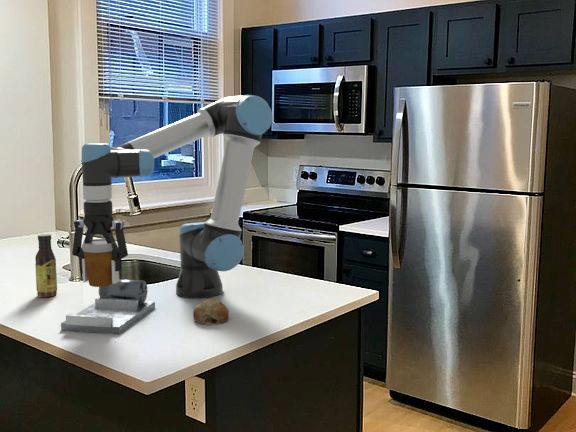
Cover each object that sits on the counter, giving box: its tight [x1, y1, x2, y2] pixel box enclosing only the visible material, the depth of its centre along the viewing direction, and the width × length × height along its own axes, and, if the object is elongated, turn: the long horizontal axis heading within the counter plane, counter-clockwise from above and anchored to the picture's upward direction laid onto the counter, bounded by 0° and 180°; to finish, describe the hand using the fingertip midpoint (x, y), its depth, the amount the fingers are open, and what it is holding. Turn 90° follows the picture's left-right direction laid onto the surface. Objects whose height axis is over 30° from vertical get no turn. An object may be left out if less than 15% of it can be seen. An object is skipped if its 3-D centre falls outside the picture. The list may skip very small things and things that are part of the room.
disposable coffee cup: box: [81, 238, 115, 288], centre depth 180 cm, size 10×10×12 cm
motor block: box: [60, 278, 156, 335], centre depth 186 cm, size 17×25×9 cm
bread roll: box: [192, 297, 230, 326], centre depth 185 cm, size 10×10×8 cm
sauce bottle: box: [34, 233, 58, 298], centre depth 209 cm, size 7×6×20 cm
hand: (101, 281), depth 181 cm, fingers closed on disposable coffee cup, 8 cm apart
